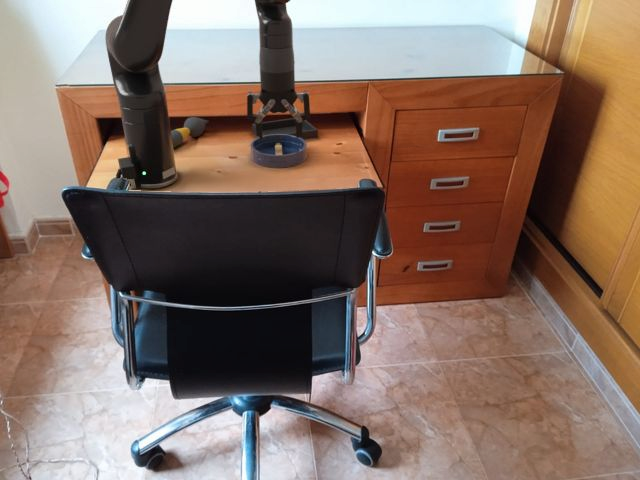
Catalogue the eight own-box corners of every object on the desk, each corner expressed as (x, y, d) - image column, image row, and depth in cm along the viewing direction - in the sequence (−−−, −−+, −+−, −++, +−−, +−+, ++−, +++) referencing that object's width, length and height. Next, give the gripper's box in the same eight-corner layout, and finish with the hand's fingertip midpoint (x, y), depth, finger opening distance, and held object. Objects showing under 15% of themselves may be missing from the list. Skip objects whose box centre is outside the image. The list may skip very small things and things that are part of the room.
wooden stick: (282, 164, 124) (282, 158, 123) (275, 165, 124) (275, 158, 123) (281, 147, 132) (281, 141, 131) (275, 147, 132) (274, 141, 131)
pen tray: (265, 147, 134) (265, 137, 132) (252, 132, 141) (251, 123, 140) (317, 138, 139) (317, 129, 137) (302, 125, 147) (302, 116, 145)
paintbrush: (165, 159, 126) (162, 139, 123) (148, 155, 128) (144, 135, 125) (213, 132, 141) (211, 113, 139) (197, 128, 143) (196, 110, 140)
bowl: (262, 173, 121) (261, 159, 119) (243, 152, 131) (242, 138, 129) (315, 164, 126) (315, 150, 124) (293, 144, 136) (293, 130, 134)
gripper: (243, 71, 113) (248, 144, 122) (311, 70, 114) (311, 142, 123) (244, 62, 119) (249, 131, 128) (308, 61, 120) (308, 130, 129)
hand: (279, 136), depth 125 cm, fingers open, 8 cm apart
